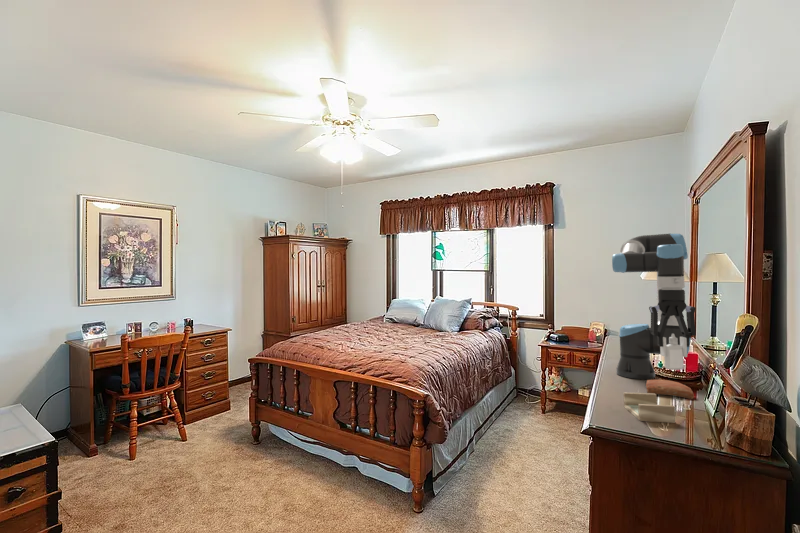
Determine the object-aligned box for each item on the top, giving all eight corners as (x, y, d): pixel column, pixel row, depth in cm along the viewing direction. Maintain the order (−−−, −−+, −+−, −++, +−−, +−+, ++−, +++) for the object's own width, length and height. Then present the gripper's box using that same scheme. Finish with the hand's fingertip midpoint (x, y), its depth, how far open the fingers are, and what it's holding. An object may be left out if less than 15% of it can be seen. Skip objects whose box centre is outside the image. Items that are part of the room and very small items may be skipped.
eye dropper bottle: (686, 370, 128) (684, 335, 128) (666, 369, 130) (664, 334, 130) (682, 367, 132) (681, 333, 132) (663, 366, 134) (661, 332, 134)
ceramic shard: (686, 376, 152) (695, 392, 139) (684, 391, 154) (692, 408, 140) (643, 368, 159) (647, 382, 146) (641, 382, 160) (645, 398, 147)
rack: (624, 406, 134) (623, 392, 134) (655, 408, 132) (654, 393, 132) (640, 421, 121) (639, 405, 121) (675, 422, 119) (674, 406, 119)
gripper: (646, 289, 129) (648, 357, 129) (708, 289, 126) (710, 359, 126) (637, 288, 137) (639, 353, 136) (695, 288, 133) (697, 354, 133)
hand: (673, 355), depth 131 cm, fingers closed on eye dropper bottle, 5 cm apart
